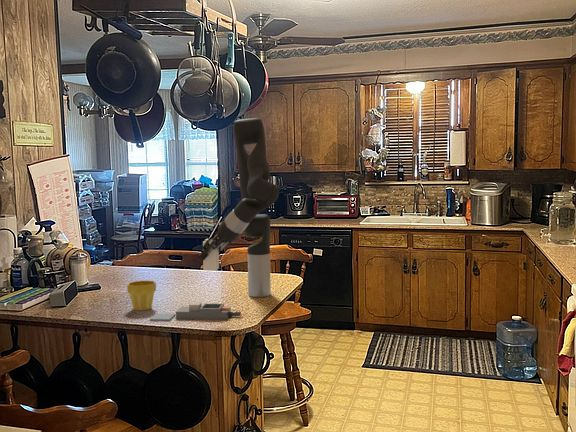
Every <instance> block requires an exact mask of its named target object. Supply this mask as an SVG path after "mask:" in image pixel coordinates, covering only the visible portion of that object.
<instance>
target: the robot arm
mask: <svg viewBox="0 0 576 432" xmlns="http://www.w3.org/2000/svg"><path fill="white" fill-rule="evenodd" d="M232 128H233V129H232V130H233V137H234V145H235V149H236V151H235V152H236V158H237V167H238V178H239V179H238V180H239V189H240V195H241V200H240V201H239V202H238V204H237V205H236V206H235V207H234V208H233V209H232V211H230V212H229V213H228V215H227V216H226V217H225V218H224V219H223V221H222V222H220V224H219V226H218V227H217V231H218V233H216V234H215V235H214V237H213V238H212V236H210V237H208V238H207V239H208V240H207V242H206V243H205V244H204V246H203V245H202V248H201V249H202V252H201V253H200V254H199V258H200V260H201V261H203V260H205V259H206V257H207V256H208V255H209V254H210V253H211V252H212V251H213V250H216V249H218V248H219V253H220V252H222V251H223V250H226V249H227V248H228V247H229V246H230V245H231V244H232V243H233V242H236V240H237V239H238V238H239V237H240V236H241V234H243V232H244V235H245V236H246V237H249V238H258V237H259V238H261V240H260V241H258V242H256V243H254V244H250V245H249V246H247V293H248V297H254V298H264V297H268V296H269V297H270V296H271V295H272V291H271V288H272V285H271V218H270V215H268V213H267V214H266V213H264V214H263V213H262V214H260V213H261V212H263V211H264V210H267V208H269V207H271V206H272V205H274V203H275V202H276V201H277V200H278V197H279V194H280V190H279V188H278V186H277V185H276V184H274V183H272V182H270V181H269V180H270V177H271V172H270V168H269V164H268V159H267V143H266V133H265V127H264V123H263V121H262V119H261V118H258V117H252V118H241V119H237V120H235V121H234V122H233V126H232ZM254 144H256V145H255V146H254V148H253V149H252V150H251V152H250V154H249V153H248V151H247V150H246V148H245V147H246V146H245V145H254ZM214 245H215V246H216V247H214ZM211 248H212V249H211ZM203 250H204V251H203Z"/></svg>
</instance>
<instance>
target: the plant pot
mask: <svg viewBox="0 0 576 432" xmlns="http://www.w3.org/2000/svg"><path fill="white" fill-rule="evenodd" d="M126 287H127V294H129V298H130V301H131V304H132V308H133V310H134V311H148V310H151V309H152V307H153V300H154V295H155V292H156V291H157V282H156V281H154V280H135V281H131V282H128V283H127V286H126Z"/></svg>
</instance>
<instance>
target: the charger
mask: <svg viewBox="0 0 576 432" xmlns="http://www.w3.org/2000/svg"><path fill="white" fill-rule="evenodd" d="M208 239H209V238H206V239H204V241H202V247H203V246H204V244H205V243H206V242H207V240H208ZM214 247H216V246H215V245H214ZM211 249H212V248H211ZM203 251H204V250H203V249H202V252H203ZM219 254H220V252H219V248H218V249H216V250H213V251H212V252H211V253H210V254H209V255H208V256H207V257H206V259H205V260H202V264H203V265H202V266H203V271H218V269H219V268H220V257H219V256H220V255H219Z"/></svg>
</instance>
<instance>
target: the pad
mask: <svg viewBox="0 0 576 432" xmlns="http://www.w3.org/2000/svg"><path fill="white" fill-rule="evenodd" d="M174 317H176V313H155V314H154V315H153V316H151V317H150V318H149V321H150V322H151V321H155V322H160V321H161V322H162V321H163V322H170V321H171V320H172V319H174Z"/></svg>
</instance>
